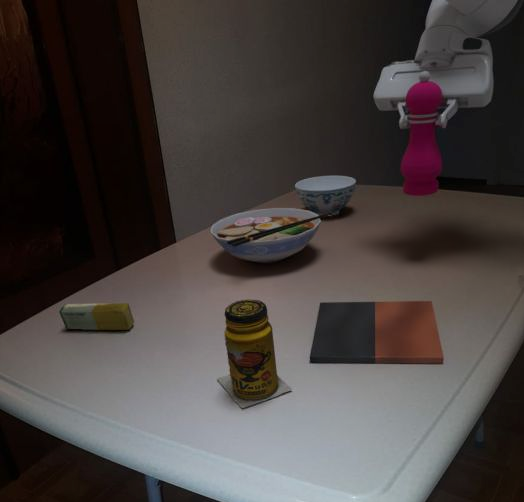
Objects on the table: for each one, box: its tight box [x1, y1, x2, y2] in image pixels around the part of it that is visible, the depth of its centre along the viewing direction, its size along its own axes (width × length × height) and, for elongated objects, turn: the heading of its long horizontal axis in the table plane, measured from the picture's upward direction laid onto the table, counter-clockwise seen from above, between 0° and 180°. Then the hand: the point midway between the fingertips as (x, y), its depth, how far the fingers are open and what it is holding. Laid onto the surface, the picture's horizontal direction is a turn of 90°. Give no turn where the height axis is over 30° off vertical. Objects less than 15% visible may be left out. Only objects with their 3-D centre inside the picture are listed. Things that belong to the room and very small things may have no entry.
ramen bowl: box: [210, 207, 333, 264], centre depth 116 cm, size 25×23×8 cm
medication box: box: [58, 302, 135, 331], centre depth 94 cm, size 12×3×4 cm, turn 78°
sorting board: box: [309, 300, 445, 364], centre depth 84 cm, size 18×18×1 cm
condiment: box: [216, 298, 293, 409], centre depth 72 cm, size 7×8×12 cm
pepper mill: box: [400, 71, 443, 197], centre depth 98 cm, size 7×7×20 cm
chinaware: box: [294, 175, 357, 216], centre depth 140 cm, size 15×15×8 cm
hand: (421, 126), depth 97 cm, fingers closed on pepper mill, 5 cm apart
